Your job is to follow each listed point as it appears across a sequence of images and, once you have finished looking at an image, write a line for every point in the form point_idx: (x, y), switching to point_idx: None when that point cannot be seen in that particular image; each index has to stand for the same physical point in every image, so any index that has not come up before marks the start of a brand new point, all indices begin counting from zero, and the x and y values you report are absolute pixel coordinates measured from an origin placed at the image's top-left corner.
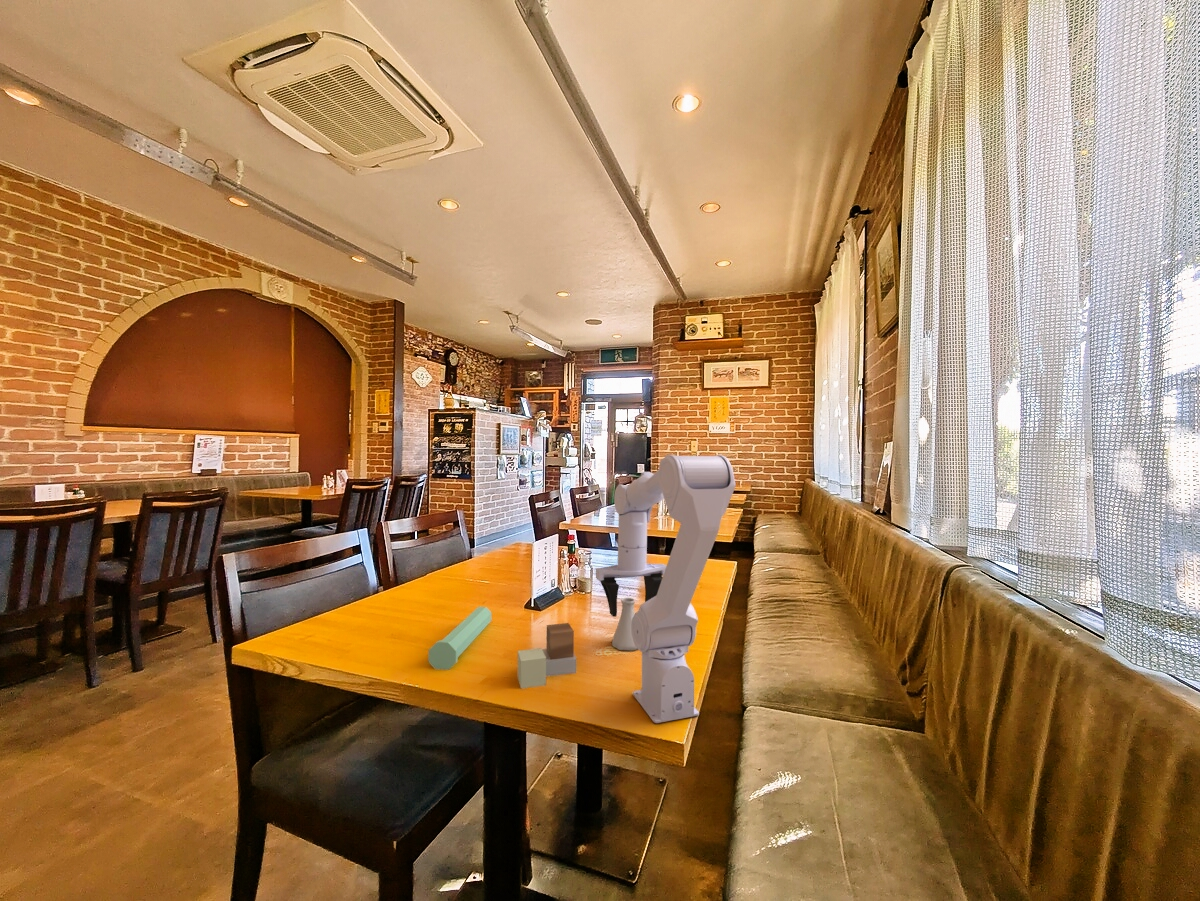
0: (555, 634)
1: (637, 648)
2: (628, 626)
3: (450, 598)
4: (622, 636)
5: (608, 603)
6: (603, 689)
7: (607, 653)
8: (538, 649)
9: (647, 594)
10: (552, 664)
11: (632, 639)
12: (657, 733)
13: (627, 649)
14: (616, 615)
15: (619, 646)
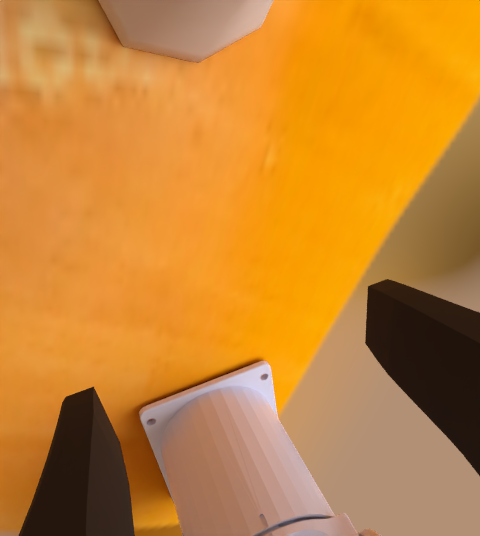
0: None
1: (224, 47)
2: (216, 8)
3: None
4: (154, 20)
5: (45, 473)
6: (36, 394)
7: (44, 68)
8: None
9: (470, 383)
10: None
11: (213, 43)
12: (173, 518)
13: (168, 54)
14: (120, 452)
15: (124, 34)
